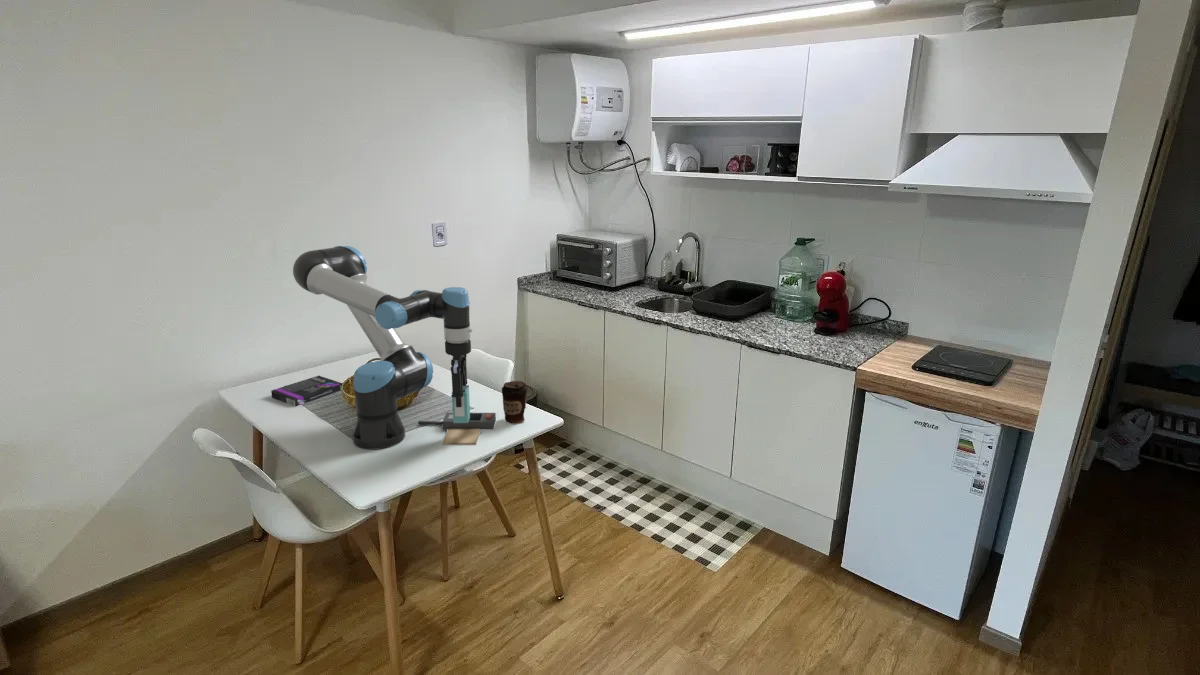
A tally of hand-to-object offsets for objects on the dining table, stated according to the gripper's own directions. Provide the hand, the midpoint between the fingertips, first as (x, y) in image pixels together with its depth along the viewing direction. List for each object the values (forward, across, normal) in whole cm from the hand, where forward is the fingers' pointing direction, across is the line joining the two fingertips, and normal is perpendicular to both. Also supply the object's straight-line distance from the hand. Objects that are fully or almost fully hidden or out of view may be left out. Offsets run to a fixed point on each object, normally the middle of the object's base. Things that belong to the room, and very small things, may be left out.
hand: (461, 412), depth 193 cm
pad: (+8, 0, 0) cm, 8 cm away
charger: (+3, 0, 0) cm, 3 cm away
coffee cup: (+9, +12, -15) cm, 21 cm away
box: (+9, +36, +61) cm, 71 cm away
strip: (+8, +9, +4) cm, 13 cm away
